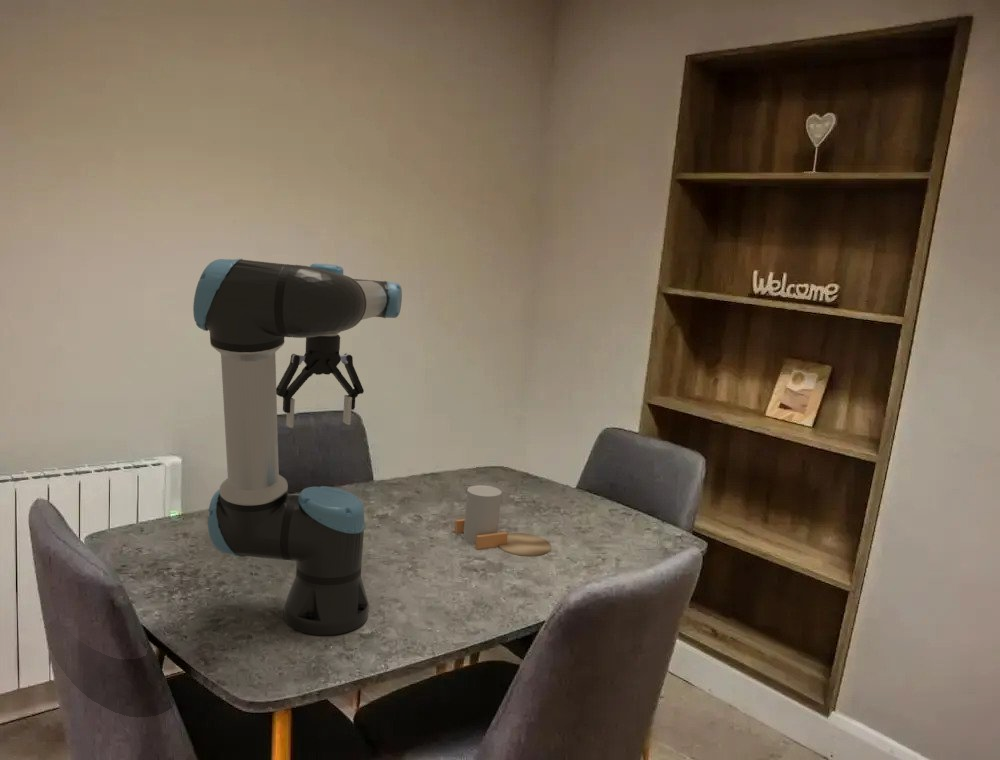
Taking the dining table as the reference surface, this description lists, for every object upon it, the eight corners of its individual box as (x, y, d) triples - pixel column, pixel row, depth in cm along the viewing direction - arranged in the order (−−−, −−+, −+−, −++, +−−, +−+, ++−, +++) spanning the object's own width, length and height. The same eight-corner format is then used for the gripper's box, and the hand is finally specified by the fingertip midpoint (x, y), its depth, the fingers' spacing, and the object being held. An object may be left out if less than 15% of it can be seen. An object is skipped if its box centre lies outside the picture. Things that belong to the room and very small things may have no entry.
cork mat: (561, 552, 184) (561, 550, 183) (514, 559, 177) (515, 557, 177) (531, 532, 194) (531, 530, 194) (486, 538, 188) (486, 536, 188)
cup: (498, 534, 191) (503, 487, 189) (495, 546, 183) (499, 498, 181) (465, 530, 192) (469, 483, 190) (460, 542, 184) (465, 494, 182)
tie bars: (506, 545, 185) (507, 533, 184) (477, 549, 180) (478, 537, 180) (482, 527, 194) (483, 516, 194) (454, 531, 190) (455, 519, 190)
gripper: (367, 331, 185) (362, 418, 189) (263, 330, 172) (259, 423, 175) (381, 336, 179) (375, 425, 183) (273, 335, 165) (269, 432, 169)
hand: (318, 425), depth 179 cm, fingers open, 13 cm apart
